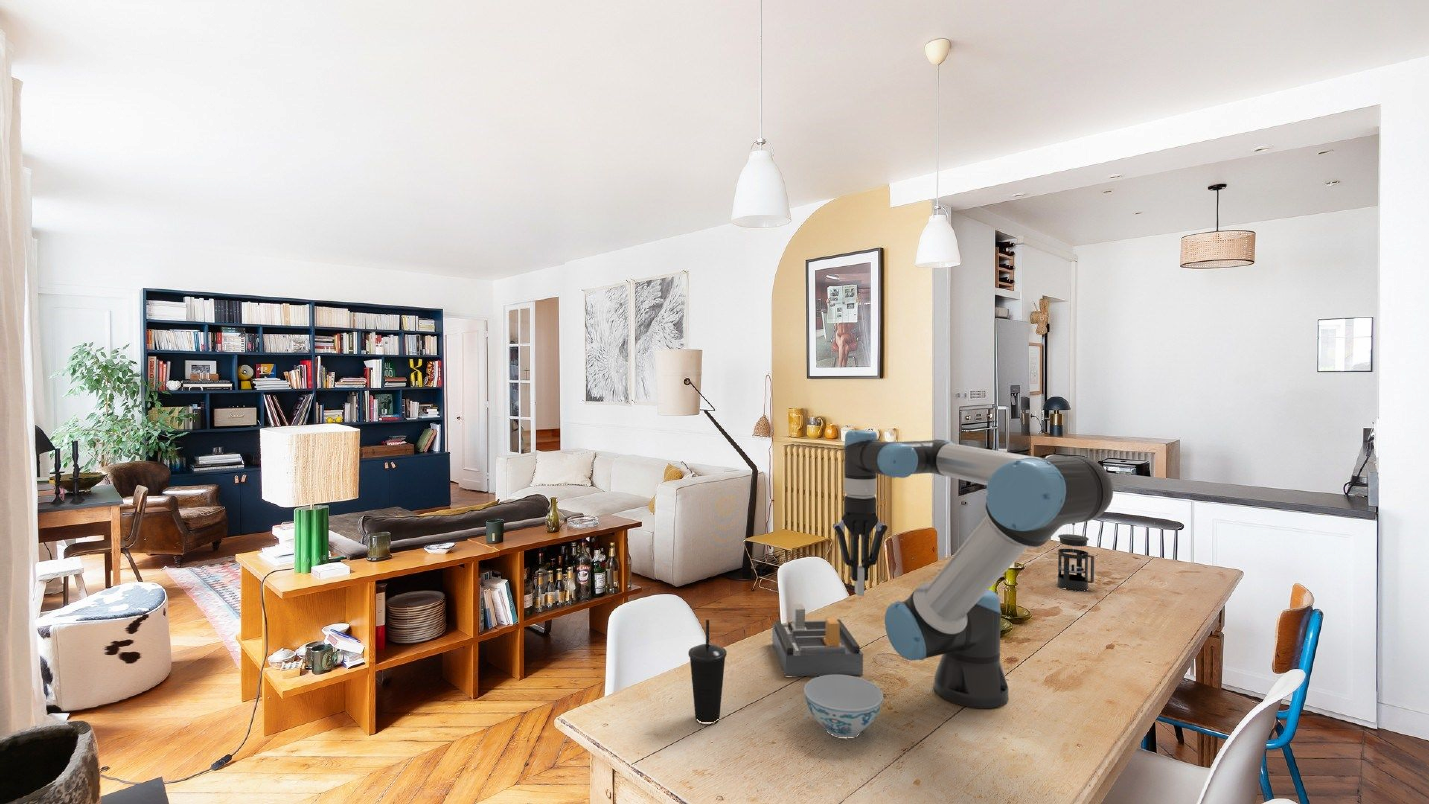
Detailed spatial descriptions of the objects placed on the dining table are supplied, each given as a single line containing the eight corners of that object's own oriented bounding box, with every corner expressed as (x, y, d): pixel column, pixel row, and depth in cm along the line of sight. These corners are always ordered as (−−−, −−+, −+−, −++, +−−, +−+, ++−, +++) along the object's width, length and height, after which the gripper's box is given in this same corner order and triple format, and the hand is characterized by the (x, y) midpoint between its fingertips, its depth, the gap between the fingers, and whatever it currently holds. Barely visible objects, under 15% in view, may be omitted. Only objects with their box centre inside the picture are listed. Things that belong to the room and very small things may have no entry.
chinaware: (788, 730, 129) (788, 690, 129) (833, 704, 140) (833, 668, 139) (853, 761, 118) (854, 718, 118) (897, 730, 129) (898, 691, 129)
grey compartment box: (862, 675, 154) (863, 627, 153) (785, 677, 152) (785, 629, 152) (840, 642, 174) (840, 600, 173) (772, 643, 172) (772, 601, 172)
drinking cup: (693, 731, 128) (693, 628, 128) (684, 712, 136) (684, 615, 135) (731, 726, 130) (731, 625, 130) (720, 707, 138) (720, 612, 137)
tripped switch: (841, 648, 156) (841, 624, 156) (828, 649, 156) (828, 624, 155) (836, 640, 161) (836, 617, 160) (823, 641, 160) (823, 617, 160)
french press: (1049, 585, 223) (1050, 517, 223) (1063, 581, 229) (1064, 514, 228) (1085, 594, 214) (1086, 523, 213) (1099, 589, 219) (1100, 520, 219)
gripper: (882, 492, 162) (881, 588, 163) (829, 493, 161) (828, 589, 162) (892, 497, 154) (891, 598, 155) (837, 498, 154) (836, 599, 154)
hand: (859, 593), depth 158 cm, fingers closed
